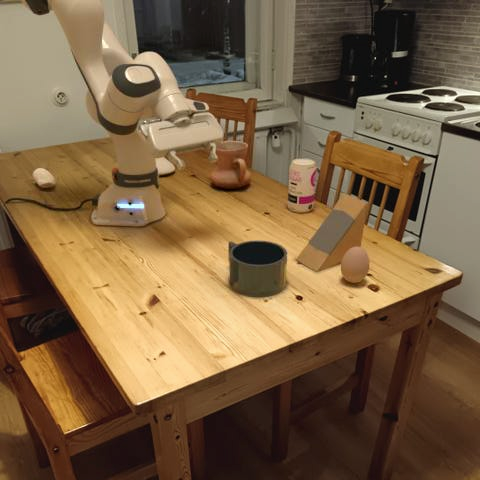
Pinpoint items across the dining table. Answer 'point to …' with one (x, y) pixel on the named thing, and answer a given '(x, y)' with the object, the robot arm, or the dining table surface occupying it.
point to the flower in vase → (164, 166)
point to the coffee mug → (257, 268)
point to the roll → (43, 178)
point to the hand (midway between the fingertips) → (198, 164)
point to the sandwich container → (336, 234)
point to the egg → (355, 264)
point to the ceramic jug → (231, 165)
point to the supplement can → (301, 185)
